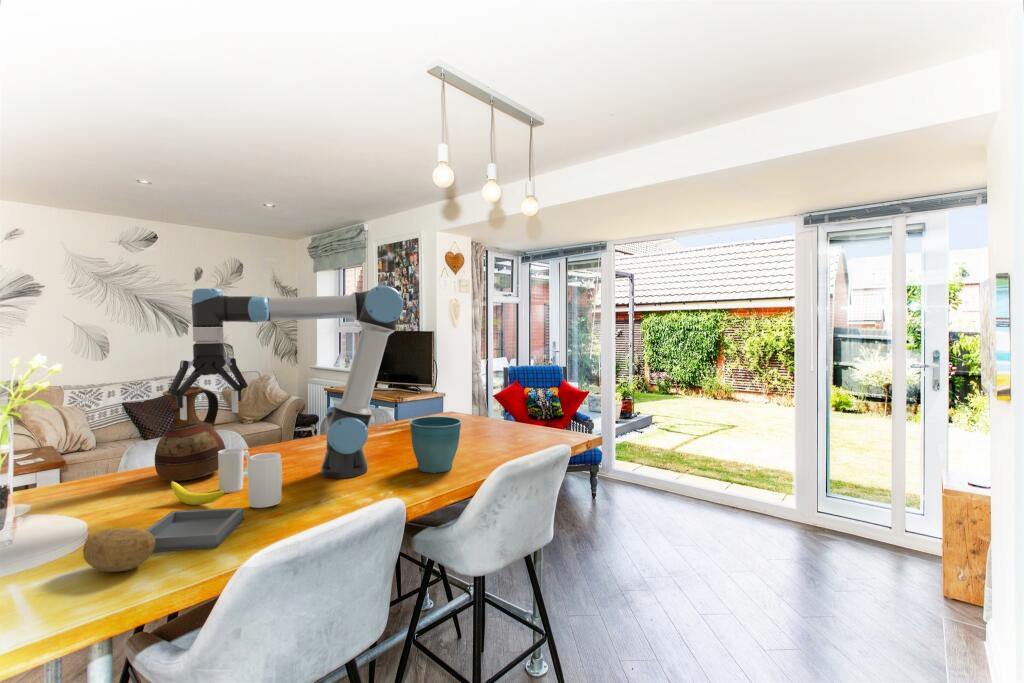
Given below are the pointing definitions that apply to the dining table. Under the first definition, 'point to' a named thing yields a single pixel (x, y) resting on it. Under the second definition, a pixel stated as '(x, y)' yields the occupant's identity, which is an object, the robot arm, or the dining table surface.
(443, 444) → the flower pot
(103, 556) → the potato
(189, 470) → the ceramic pitcher
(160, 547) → the tray
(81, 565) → the dining table surface
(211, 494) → the banana
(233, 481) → the mug
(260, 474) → the cup
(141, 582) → the dining table surface
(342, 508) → the dining table surface
